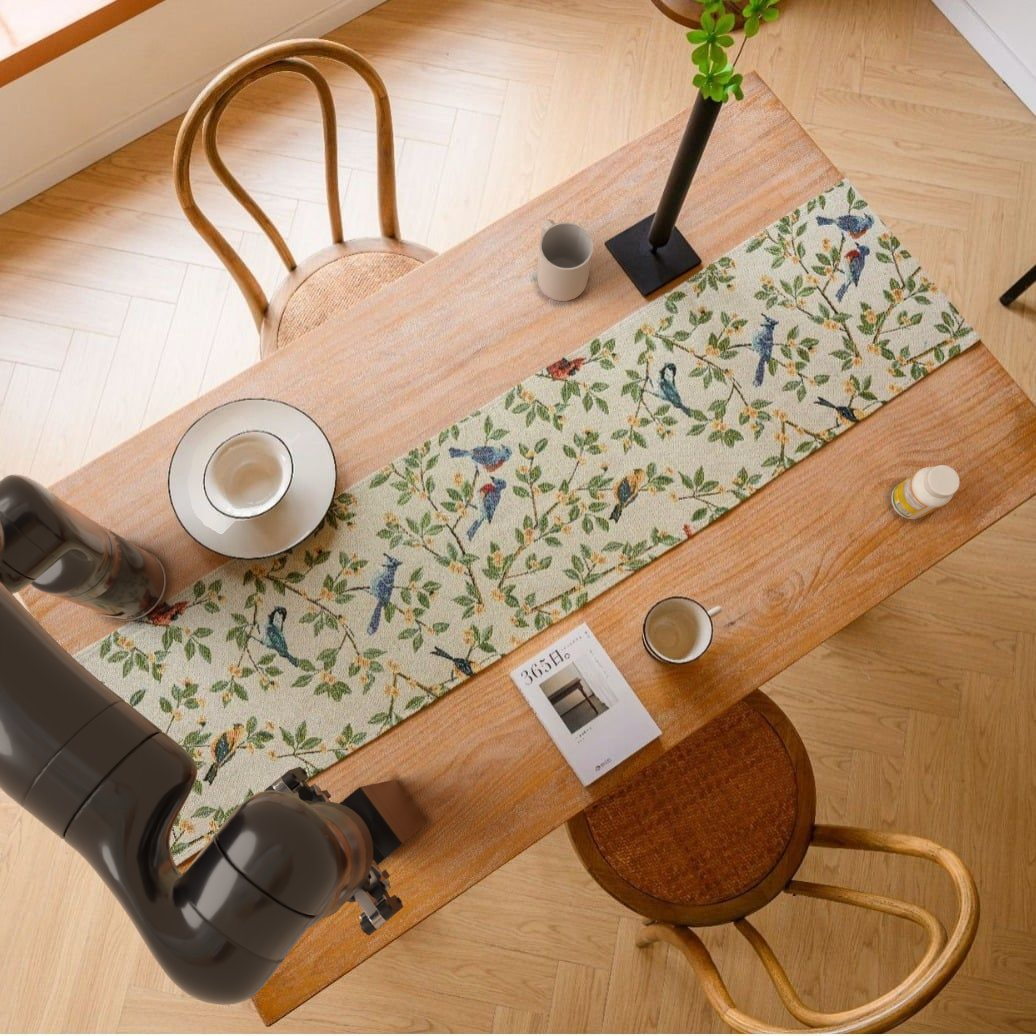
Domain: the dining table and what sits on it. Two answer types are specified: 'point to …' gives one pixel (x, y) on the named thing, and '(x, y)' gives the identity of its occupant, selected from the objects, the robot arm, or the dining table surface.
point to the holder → (385, 815)
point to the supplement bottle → (925, 491)
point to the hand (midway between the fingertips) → (348, 840)
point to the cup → (563, 259)
